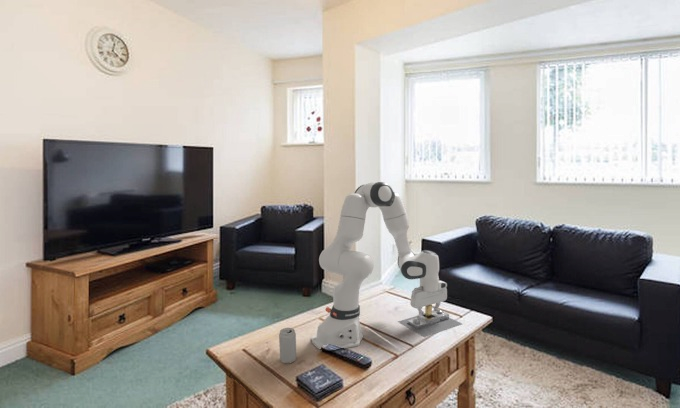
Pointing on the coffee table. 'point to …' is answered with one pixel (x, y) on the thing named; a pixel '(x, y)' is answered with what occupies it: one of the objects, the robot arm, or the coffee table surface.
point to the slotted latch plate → (424, 321)
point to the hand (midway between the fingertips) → (428, 312)
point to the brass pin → (428, 311)
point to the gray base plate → (431, 326)
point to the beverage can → (287, 345)
